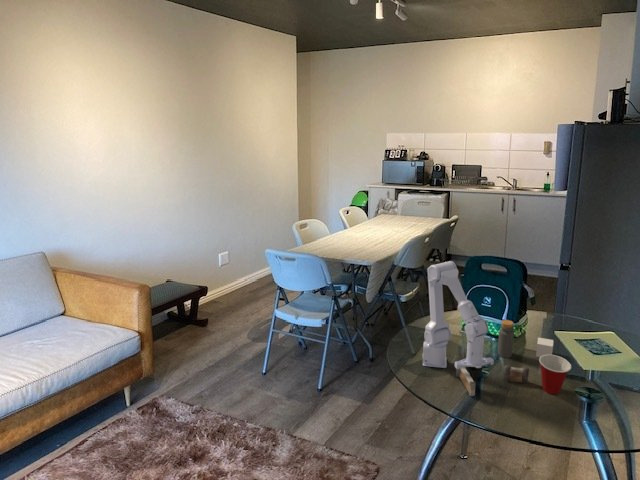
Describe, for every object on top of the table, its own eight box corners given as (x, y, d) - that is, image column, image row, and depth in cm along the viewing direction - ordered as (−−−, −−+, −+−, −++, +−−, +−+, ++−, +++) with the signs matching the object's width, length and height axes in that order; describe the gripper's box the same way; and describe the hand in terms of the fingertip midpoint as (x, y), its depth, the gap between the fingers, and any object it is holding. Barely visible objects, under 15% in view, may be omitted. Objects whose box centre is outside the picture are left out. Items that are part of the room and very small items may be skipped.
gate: (459, 377, 194) (459, 365, 192) (463, 376, 194) (463, 365, 192) (470, 396, 182) (471, 383, 180) (474, 395, 182) (475, 383, 180)
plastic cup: (554, 402, 177) (558, 372, 174) (529, 387, 186) (532, 359, 183) (574, 393, 182) (578, 364, 178) (549, 379, 191) (552, 351, 188)
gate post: (455, 376, 194) (456, 363, 193) (455, 372, 197) (456, 360, 195) (463, 377, 194) (464, 364, 192) (463, 373, 196) (463, 360, 195)
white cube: (535, 356, 207) (537, 343, 206) (536, 349, 212) (537, 337, 211) (551, 359, 205) (553, 346, 203) (552, 352, 210) (553, 339, 208)
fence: (503, 381, 190) (504, 368, 189) (502, 377, 193) (503, 364, 191) (528, 383, 188) (529, 370, 187) (527, 380, 191) (528, 367, 189)
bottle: (513, 358, 206) (516, 325, 202) (498, 357, 207) (501, 324, 203) (510, 351, 212) (513, 319, 207) (496, 350, 213) (499, 318, 208)
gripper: (461, 357, 178) (459, 390, 182) (498, 353, 180) (496, 386, 184) (452, 348, 184) (451, 380, 188) (489, 344, 186) (487, 375, 190)
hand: (472, 382), depth 186 cm, fingers closed
